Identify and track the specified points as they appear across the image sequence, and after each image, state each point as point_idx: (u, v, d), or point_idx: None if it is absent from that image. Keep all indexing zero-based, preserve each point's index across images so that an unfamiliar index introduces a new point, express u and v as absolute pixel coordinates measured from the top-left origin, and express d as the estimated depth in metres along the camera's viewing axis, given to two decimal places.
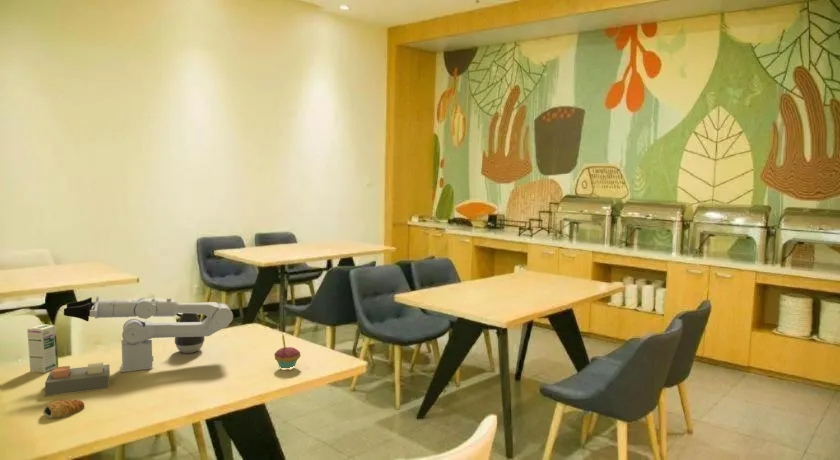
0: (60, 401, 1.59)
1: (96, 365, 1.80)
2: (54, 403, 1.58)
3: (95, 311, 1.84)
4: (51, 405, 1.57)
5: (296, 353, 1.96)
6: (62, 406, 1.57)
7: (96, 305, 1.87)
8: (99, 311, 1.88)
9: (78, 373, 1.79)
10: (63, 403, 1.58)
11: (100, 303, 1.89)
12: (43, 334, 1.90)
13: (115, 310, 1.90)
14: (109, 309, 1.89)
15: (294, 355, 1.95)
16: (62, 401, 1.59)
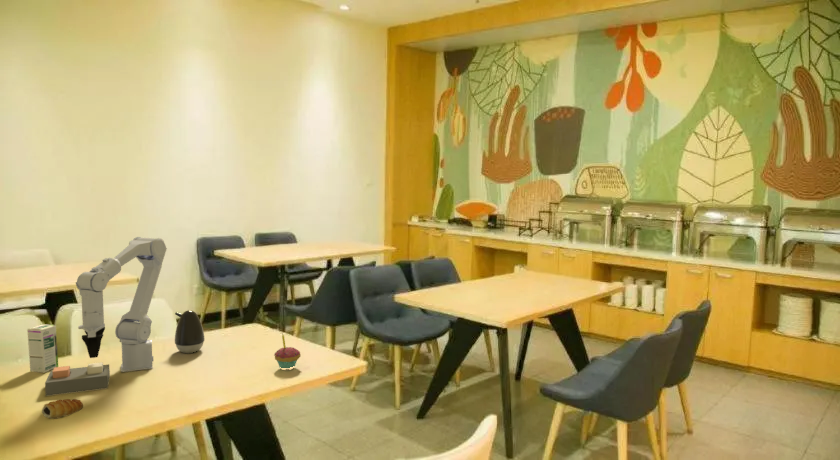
0: (59, 401, 1.59)
1: (96, 365, 1.80)
2: (53, 403, 1.58)
3: (88, 332, 1.73)
4: (50, 405, 1.57)
5: (296, 353, 1.96)
6: (61, 406, 1.58)
7: (85, 329, 1.75)
8: (93, 325, 1.77)
9: (78, 373, 1.79)
10: (62, 403, 1.59)
11: (85, 325, 1.77)
12: (43, 334, 1.90)
13: (100, 309, 1.78)
14: (90, 316, 1.77)
15: (294, 355, 1.95)
16: (61, 401, 1.60)
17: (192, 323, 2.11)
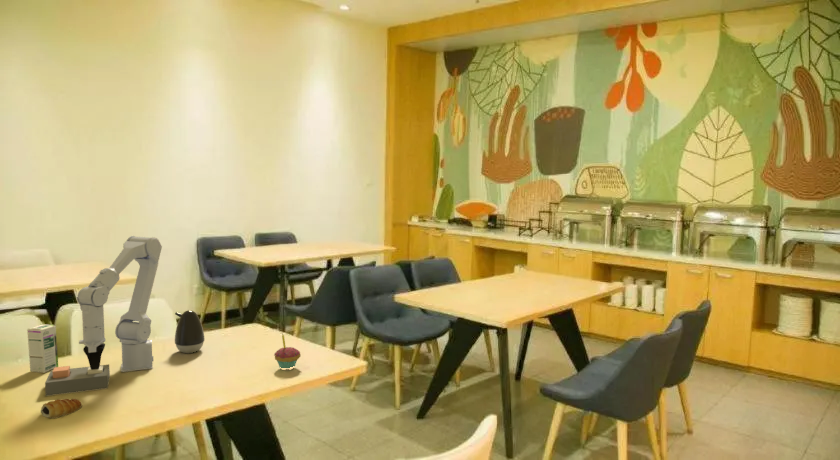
0: (58, 400, 1.60)
1: (96, 369, 1.80)
2: (52, 402, 1.59)
3: (89, 347, 1.73)
4: (49, 404, 1.57)
5: (296, 353, 1.96)
6: (60, 406, 1.58)
7: (85, 344, 1.76)
8: (94, 340, 1.78)
9: (78, 373, 1.79)
10: (61, 402, 1.59)
11: (85, 340, 1.77)
12: (43, 334, 1.90)
13: (100, 324, 1.79)
14: (91, 331, 1.77)
15: (294, 355, 1.95)
16: (60, 400, 1.60)
17: (192, 323, 2.11)
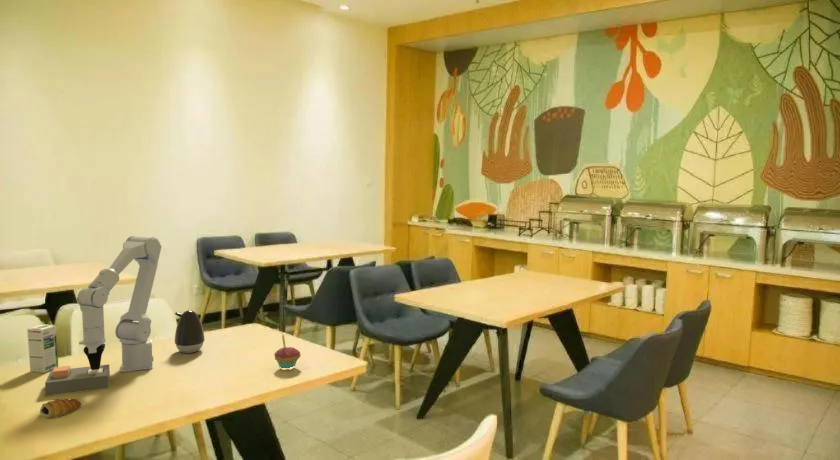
0: (57, 400, 1.60)
1: (96, 371, 1.80)
2: (51, 402, 1.59)
3: (89, 348, 1.73)
4: (48, 404, 1.57)
5: (296, 353, 1.96)
6: (60, 405, 1.58)
7: (86, 345, 1.76)
8: (94, 340, 1.78)
9: (78, 373, 1.79)
10: (60, 402, 1.59)
11: (85, 340, 1.77)
12: (43, 334, 1.90)
13: (100, 324, 1.79)
14: (91, 332, 1.77)
15: (294, 355, 1.95)
16: (59, 400, 1.60)
17: (192, 323, 2.11)
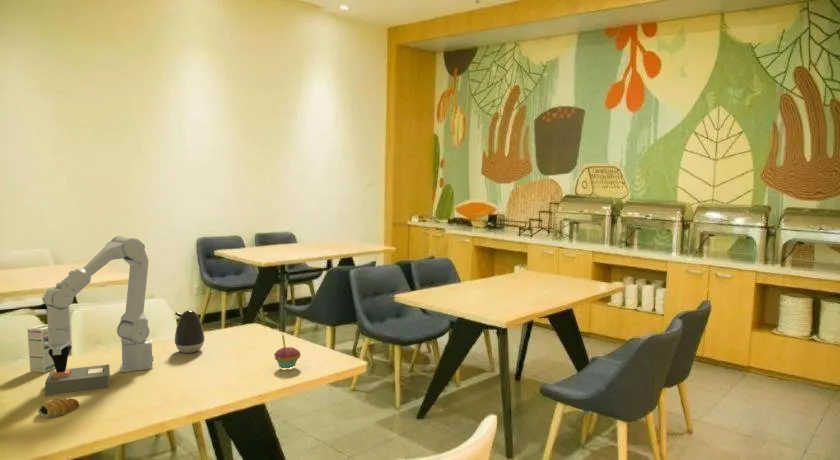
0: (55, 400, 1.60)
1: (96, 371, 1.80)
2: (50, 402, 1.59)
3: (53, 350, 1.69)
4: (47, 404, 1.57)
5: (296, 353, 1.96)
6: (58, 405, 1.58)
7: (50, 347, 1.72)
8: (59, 342, 1.74)
9: (78, 373, 1.79)
10: (59, 402, 1.59)
11: (50, 342, 1.74)
12: (43, 334, 1.90)
13: (63, 326, 1.74)
14: (56, 333, 1.73)
15: (294, 355, 1.95)
16: (57, 400, 1.60)
17: (192, 323, 2.11)
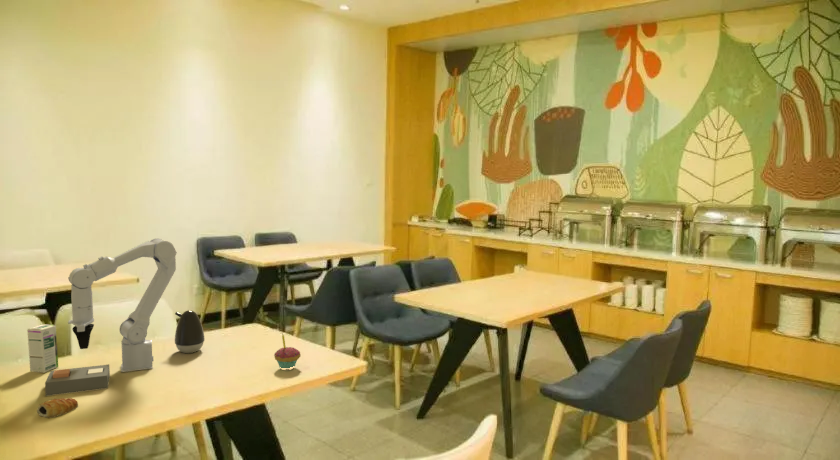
0: (54, 400, 1.60)
1: (96, 371, 1.80)
2: (48, 402, 1.59)
3: (78, 326, 1.79)
4: (46, 404, 1.57)
5: (296, 353, 1.96)
6: (57, 405, 1.58)
7: (74, 324, 1.81)
8: (82, 320, 1.83)
9: (78, 373, 1.79)
10: (58, 402, 1.59)
11: (74, 320, 1.83)
12: (43, 334, 1.90)
13: (84, 305, 1.83)
14: (80, 311, 1.82)
15: (294, 355, 1.95)
16: (56, 400, 1.60)
17: (192, 323, 2.11)
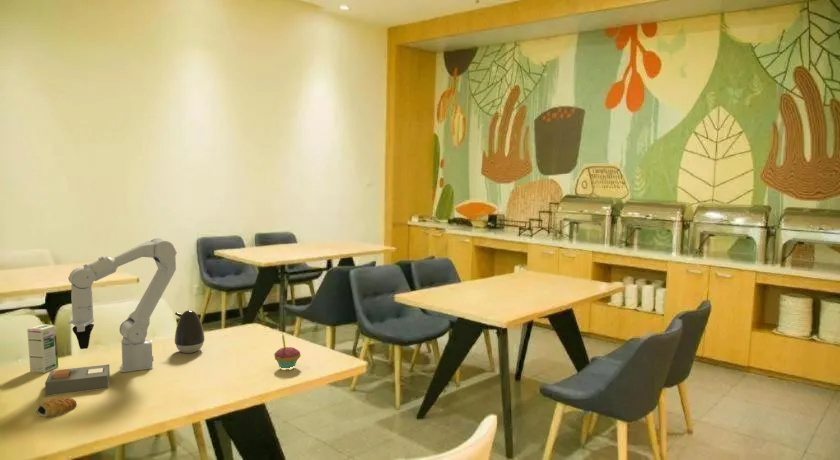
0: (53, 400, 1.60)
1: (96, 371, 1.80)
2: (47, 402, 1.59)
3: (78, 326, 1.79)
4: (45, 404, 1.57)
5: (296, 353, 1.96)
6: (56, 405, 1.58)
7: (74, 324, 1.81)
8: (82, 320, 1.83)
9: (78, 373, 1.79)
10: (57, 401, 1.59)
11: (74, 320, 1.83)
12: (43, 334, 1.90)
13: (84, 305, 1.83)
14: (80, 311, 1.82)
15: (294, 355, 1.95)
16: (55, 400, 1.60)
17: (192, 323, 2.11)
